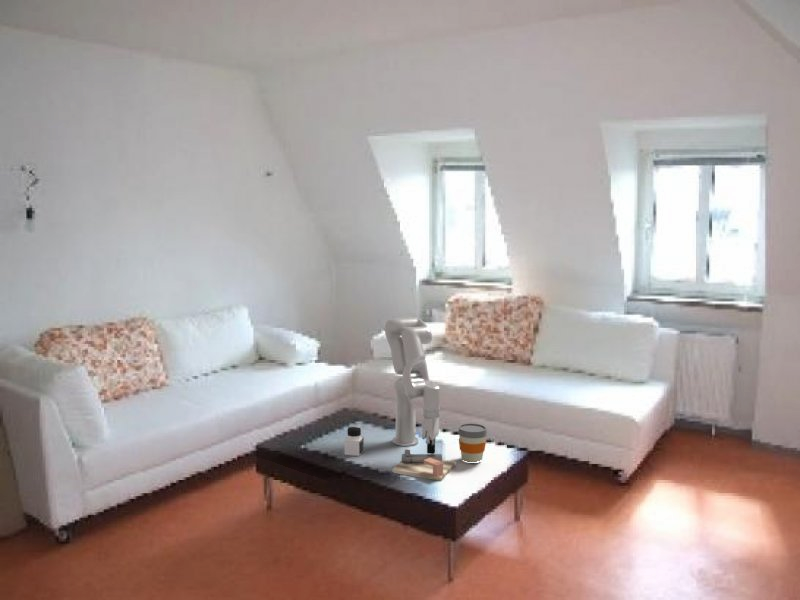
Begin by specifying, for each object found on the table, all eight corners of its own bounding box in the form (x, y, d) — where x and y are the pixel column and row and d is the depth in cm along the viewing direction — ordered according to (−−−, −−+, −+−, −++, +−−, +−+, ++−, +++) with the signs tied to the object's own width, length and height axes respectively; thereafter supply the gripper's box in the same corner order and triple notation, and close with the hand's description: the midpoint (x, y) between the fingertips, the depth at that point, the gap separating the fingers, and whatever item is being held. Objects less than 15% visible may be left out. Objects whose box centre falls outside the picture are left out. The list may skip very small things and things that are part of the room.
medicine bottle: (359, 456, 296) (359, 430, 294) (344, 455, 297) (344, 429, 295) (363, 450, 303) (363, 425, 301) (348, 449, 304) (348, 424, 302)
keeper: (423, 471, 275) (423, 459, 274) (430, 469, 277) (430, 457, 277) (436, 476, 269) (436, 465, 268) (443, 474, 272) (443, 462, 271)
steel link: (401, 463, 282) (401, 457, 282) (401, 459, 287) (401, 453, 287) (442, 463, 283) (442, 457, 283) (441, 458, 288) (441, 453, 288)
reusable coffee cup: (482, 467, 284) (483, 433, 282) (454, 463, 288) (455, 430, 286) (488, 457, 296) (489, 425, 294) (461, 453, 300) (462, 421, 298)
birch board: (408, 457, 294) (408, 443, 293) (455, 465, 286) (455, 450, 285) (392, 472, 277) (392, 456, 276) (441, 480, 269) (441, 464, 268)
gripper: (429, 407, 297) (428, 446, 299) (417, 416, 283) (417, 457, 286) (445, 409, 294) (444, 448, 296) (433, 418, 280) (433, 459, 283)
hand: (431, 452), depth 291 cm, fingers closed
